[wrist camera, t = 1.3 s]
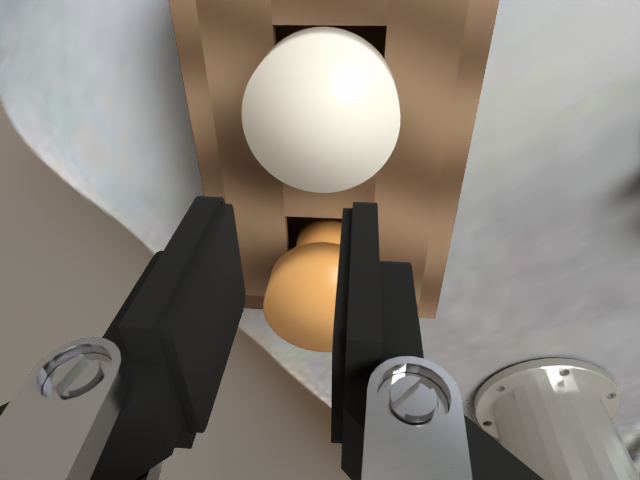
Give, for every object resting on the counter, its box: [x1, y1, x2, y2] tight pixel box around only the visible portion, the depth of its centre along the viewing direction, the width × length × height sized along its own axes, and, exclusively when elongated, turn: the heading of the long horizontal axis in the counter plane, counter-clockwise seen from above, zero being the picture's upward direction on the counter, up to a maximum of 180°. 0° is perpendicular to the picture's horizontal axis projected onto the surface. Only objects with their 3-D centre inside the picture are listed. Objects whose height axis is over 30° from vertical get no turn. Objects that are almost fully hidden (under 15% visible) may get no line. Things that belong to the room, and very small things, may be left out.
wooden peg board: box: [168, 0, 499, 318], centre depth 26 cm, size 20×14×6 cm
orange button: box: [263, 218, 342, 352], centre depth 25 cm, size 6×6×6 cm
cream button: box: [242, 27, 400, 193], centre depth 19 cm, size 6×6×6 cm
